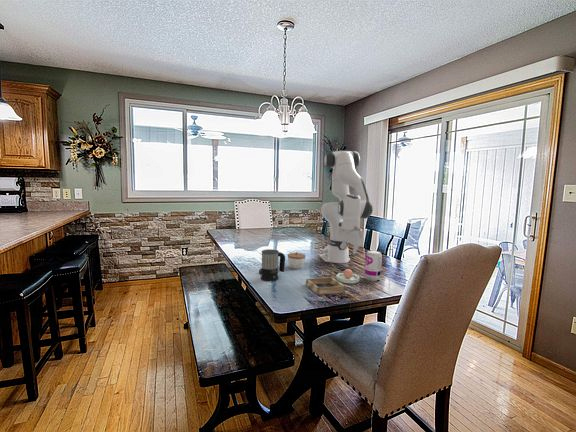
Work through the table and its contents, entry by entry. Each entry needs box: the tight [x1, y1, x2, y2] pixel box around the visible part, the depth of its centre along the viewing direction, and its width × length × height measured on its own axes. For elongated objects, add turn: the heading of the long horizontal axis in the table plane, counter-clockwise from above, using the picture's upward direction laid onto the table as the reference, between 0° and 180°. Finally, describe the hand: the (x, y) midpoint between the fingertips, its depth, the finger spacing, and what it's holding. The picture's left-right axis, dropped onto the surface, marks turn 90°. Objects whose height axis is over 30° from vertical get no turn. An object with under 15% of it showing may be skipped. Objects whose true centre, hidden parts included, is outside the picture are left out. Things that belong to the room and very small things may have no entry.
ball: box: [342, 268, 354, 279], centre depth 159 cm, size 5×5×5 cm
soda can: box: [364, 250, 383, 282], centre depth 161 cm, size 8×8×15 cm
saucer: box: [335, 272, 361, 285], centre depth 159 cm, size 12×12×2 cm
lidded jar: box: [287, 251, 306, 270], centre depth 179 cm, size 11×11×9 cm
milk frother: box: [258, 248, 286, 282], centre depth 160 cm, size 14×16×15 cm
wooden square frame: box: [305, 276, 346, 296], centre depth 145 cm, size 14×14×3 cm
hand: (349, 251), depth 158 cm, fingers open, 8 cm apart
